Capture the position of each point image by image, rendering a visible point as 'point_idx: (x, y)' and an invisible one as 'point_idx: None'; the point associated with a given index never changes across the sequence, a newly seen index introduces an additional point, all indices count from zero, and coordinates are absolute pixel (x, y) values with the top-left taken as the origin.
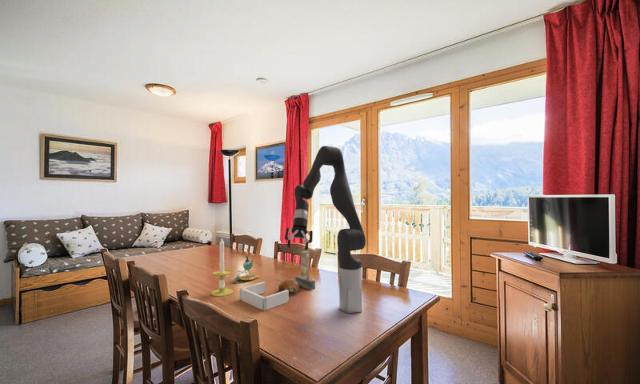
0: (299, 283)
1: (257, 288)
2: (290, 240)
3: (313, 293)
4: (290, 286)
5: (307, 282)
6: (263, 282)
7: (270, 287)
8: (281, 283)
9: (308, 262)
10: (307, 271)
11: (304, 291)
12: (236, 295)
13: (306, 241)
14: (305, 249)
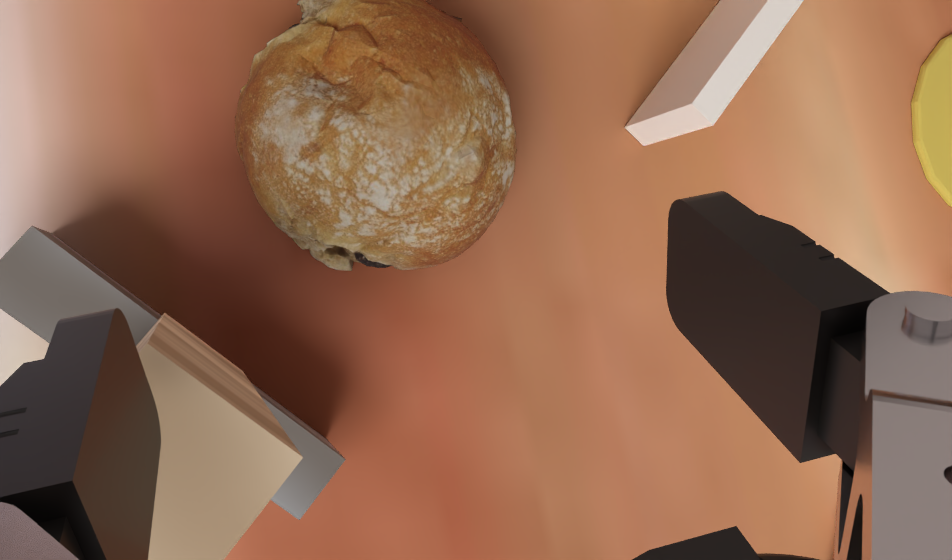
0: (263, 393)
1: (724, 31)
2: (830, 312)
3: (7, 81)
4: (346, 4)
5: (118, 289)
6: (709, 86)
7: (609, 295)
8: (487, 80)
9: None
10: None
11: (155, 162)
12: (855, 46)
13: (32, 520)
14: (109, 309)
